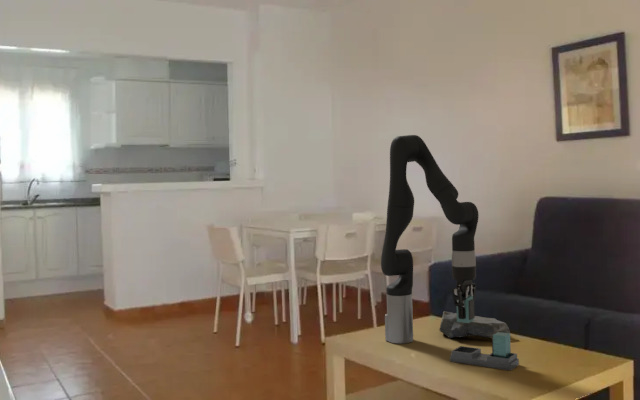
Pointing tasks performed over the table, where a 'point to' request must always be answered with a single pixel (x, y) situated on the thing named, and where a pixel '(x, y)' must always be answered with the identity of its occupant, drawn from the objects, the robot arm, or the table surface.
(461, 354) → the grey block holder
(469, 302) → the block
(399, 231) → the robot arm
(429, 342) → the table surface
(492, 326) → the stone
